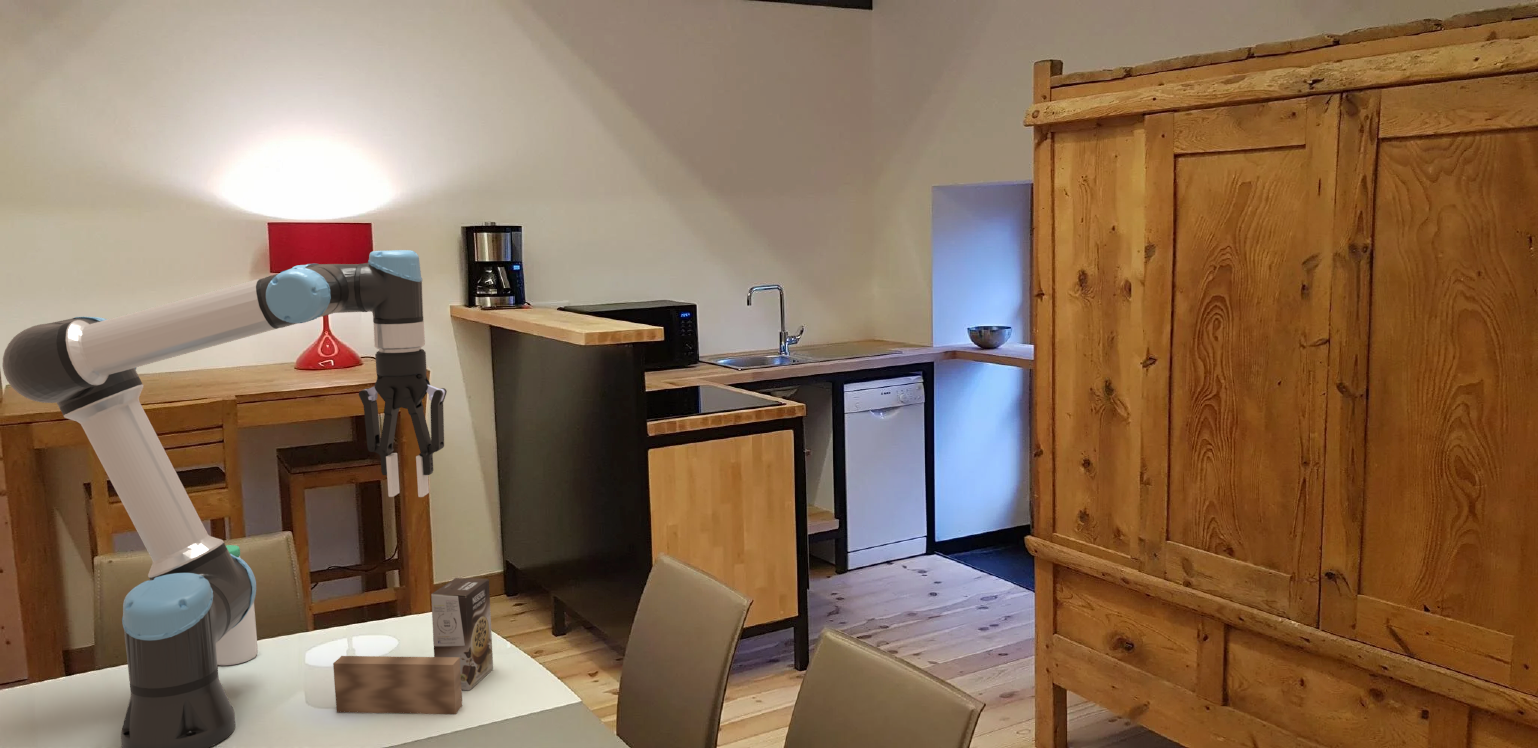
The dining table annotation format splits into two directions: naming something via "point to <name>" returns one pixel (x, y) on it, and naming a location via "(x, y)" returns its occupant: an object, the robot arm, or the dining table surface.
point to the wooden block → (398, 684)
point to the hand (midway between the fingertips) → (408, 494)
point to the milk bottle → (238, 635)
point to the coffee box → (464, 627)
